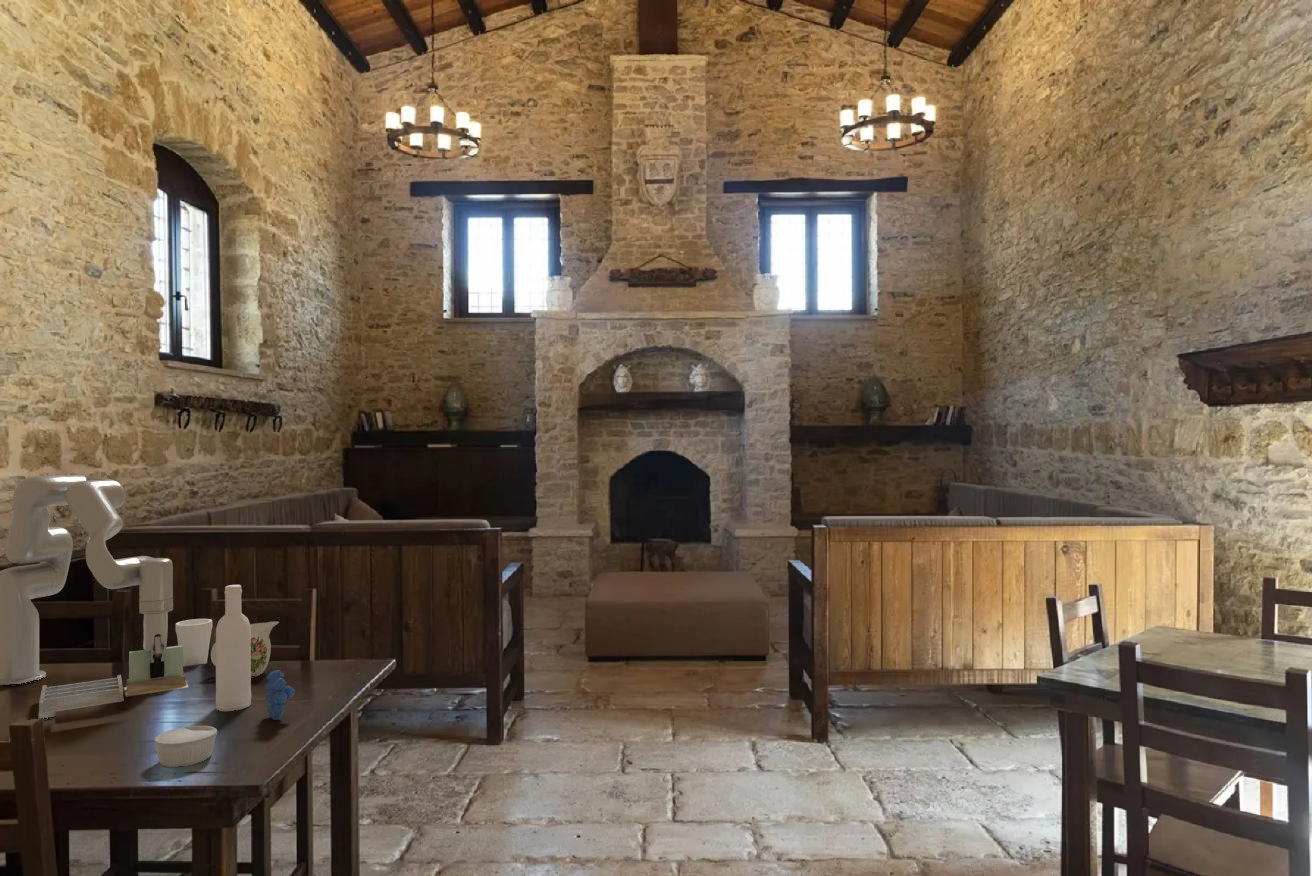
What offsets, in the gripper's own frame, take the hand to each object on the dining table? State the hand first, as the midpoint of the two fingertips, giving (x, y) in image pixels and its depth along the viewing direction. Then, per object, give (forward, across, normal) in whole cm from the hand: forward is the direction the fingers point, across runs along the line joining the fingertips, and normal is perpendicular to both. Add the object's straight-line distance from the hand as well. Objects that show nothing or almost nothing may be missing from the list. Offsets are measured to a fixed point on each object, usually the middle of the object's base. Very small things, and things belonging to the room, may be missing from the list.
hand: (156, 674), depth 217 cm
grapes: (+5, +42, +23) cm, 48 cm away
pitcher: (+5, -5, +22) cm, 23 cm away
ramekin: (+5, +58, +2) cm, 58 cm away
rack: (+5, 0, -16) cm, 17 cm away
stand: (+5, 0, 0) cm, 5 cm away
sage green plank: (+3, 0, 0) cm, 3 cm away
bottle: (+5, +25, +15) cm, 30 cm away
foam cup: (+5, -25, +11) cm, 28 cm away
